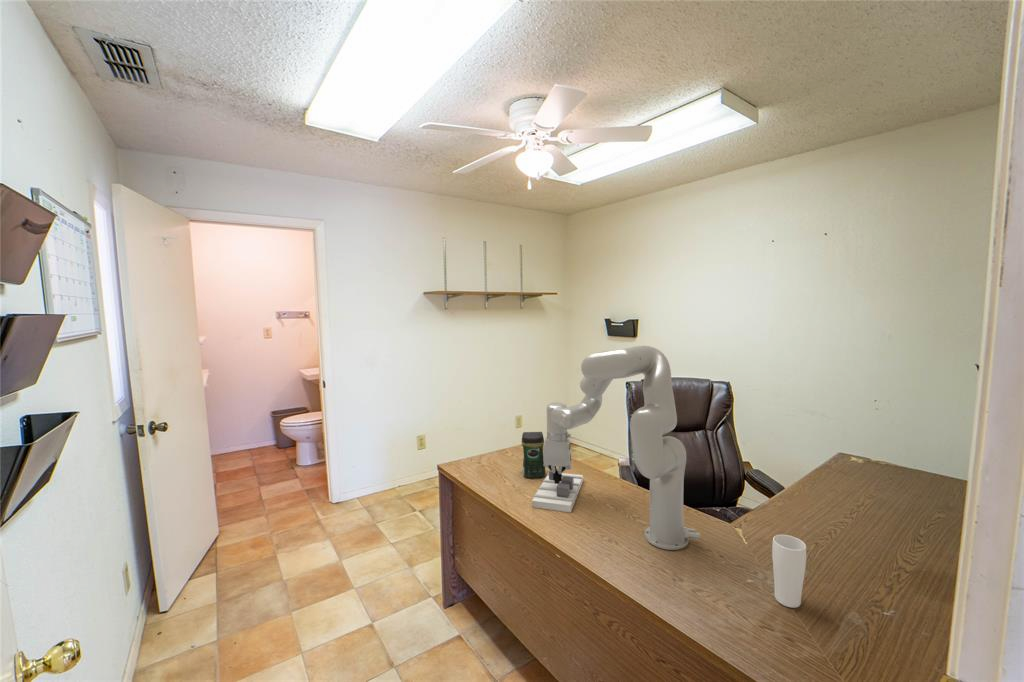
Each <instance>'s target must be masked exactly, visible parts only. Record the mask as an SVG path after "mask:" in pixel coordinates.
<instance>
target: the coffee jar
mask: <svg viewBox="0 0 1024 682" xmlns="http://www.w3.org/2000/svg"><path fill="white" fill-rule="evenodd" d="M544 438H545V437H544V433H543V431H524V432H522V435H521V441H520V442H521V445H522V449H523V458H522V459H523V461H522V475H523V477H524V478H527V479H529V478H530V479H534V478H535V479H537V478H543V477H545V476H546V467H545V466H543V464H544V461H543V456H544V444H545V439H544Z"/></svg>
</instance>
